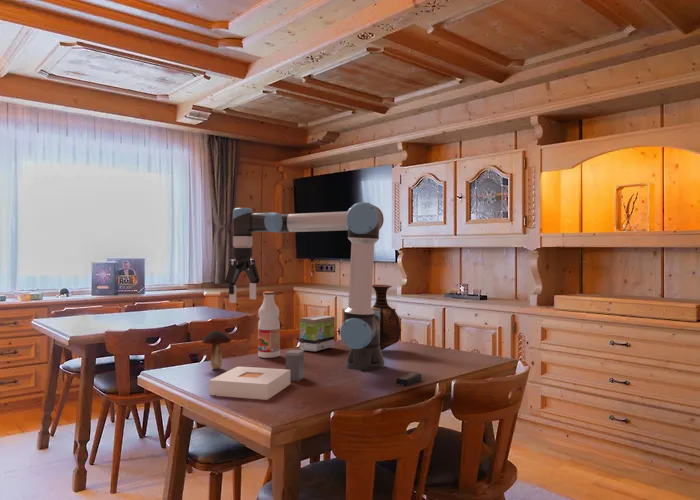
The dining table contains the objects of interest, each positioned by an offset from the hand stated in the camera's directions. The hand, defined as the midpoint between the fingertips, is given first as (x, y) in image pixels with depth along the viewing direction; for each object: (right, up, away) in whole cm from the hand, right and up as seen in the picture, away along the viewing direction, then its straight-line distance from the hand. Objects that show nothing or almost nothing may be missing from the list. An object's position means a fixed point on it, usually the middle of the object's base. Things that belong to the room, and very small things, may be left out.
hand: (243, 301), depth 210 cm
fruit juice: (+7, -26, +22) cm, 35 cm away
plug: (+22, -26, -18) cm, 39 cm away
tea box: (+27, -26, +39) cm, 54 cm away
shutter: (+9, -23, -33) cm, 41 cm away
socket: (+9, -27, -33) cm, 43 cm away
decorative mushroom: (-10, -27, -3) cm, 28 cm away
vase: (+56, -26, +34) cm, 71 cm away
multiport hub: (+63, -27, -22) cm, 72 cm away
